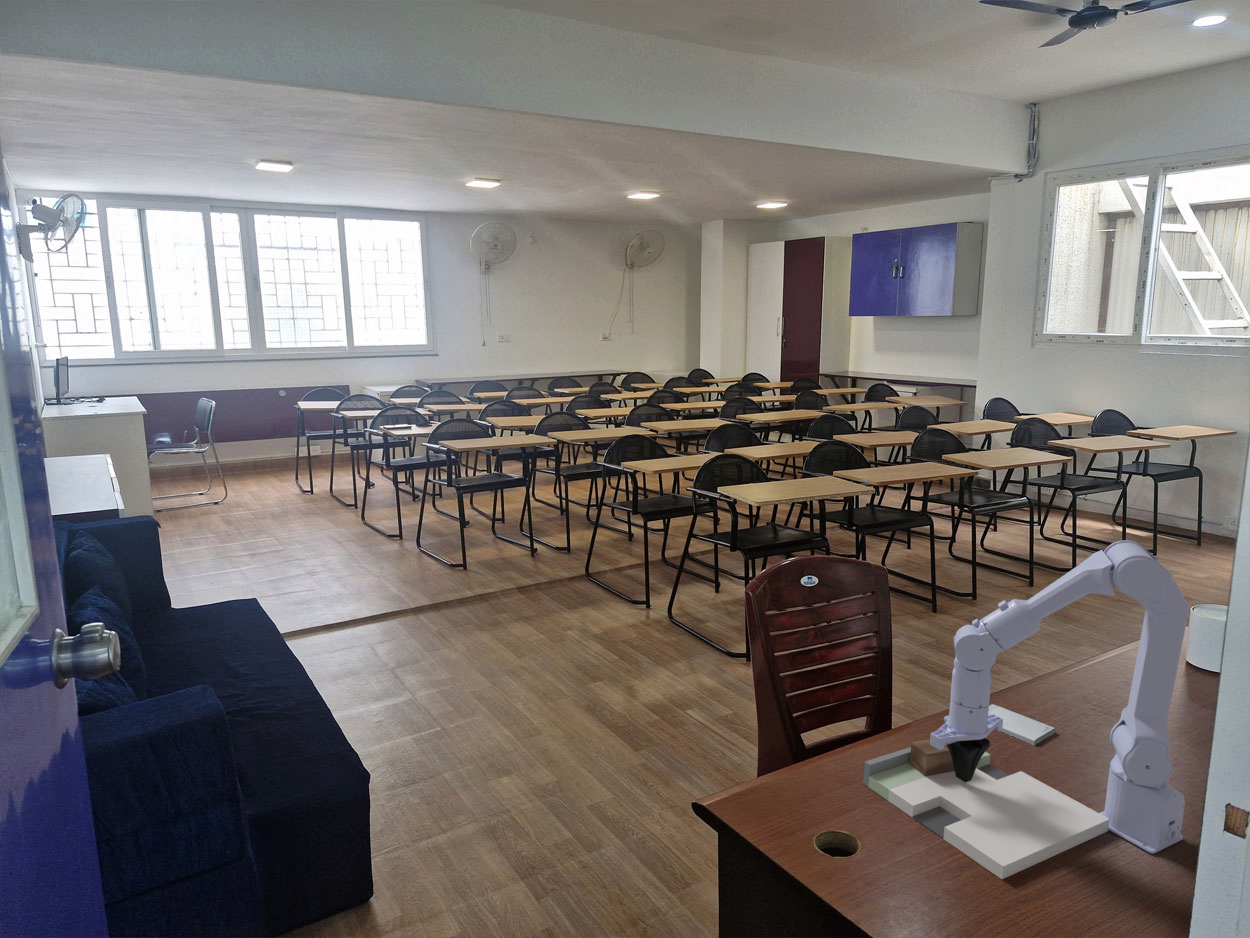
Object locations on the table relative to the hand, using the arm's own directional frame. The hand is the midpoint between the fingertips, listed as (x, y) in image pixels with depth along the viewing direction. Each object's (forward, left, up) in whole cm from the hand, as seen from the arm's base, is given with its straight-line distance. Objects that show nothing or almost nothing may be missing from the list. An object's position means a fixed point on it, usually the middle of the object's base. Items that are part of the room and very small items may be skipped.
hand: (963, 778), depth 130 cm
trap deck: (-4, 0, -3) cm, 5 cm away
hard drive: (+12, -28, -4) cm, 31 cm away
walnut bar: (+6, 0, -1) cm, 6 cm away
